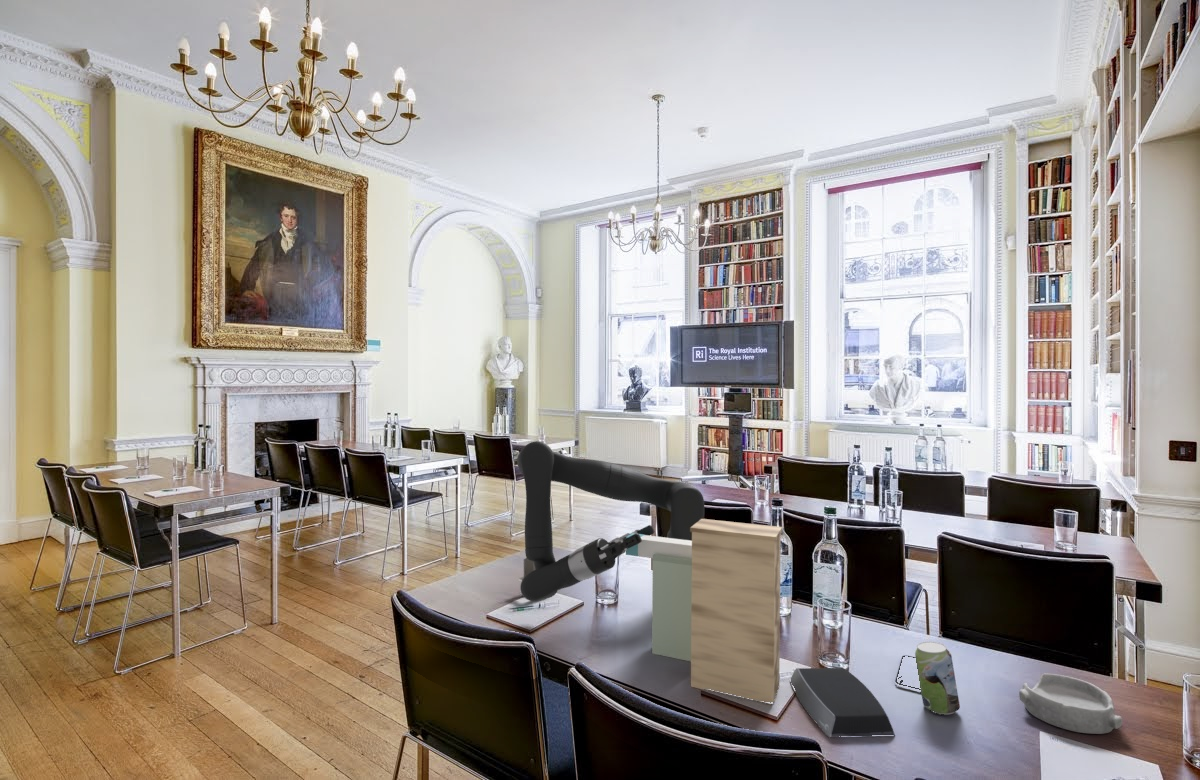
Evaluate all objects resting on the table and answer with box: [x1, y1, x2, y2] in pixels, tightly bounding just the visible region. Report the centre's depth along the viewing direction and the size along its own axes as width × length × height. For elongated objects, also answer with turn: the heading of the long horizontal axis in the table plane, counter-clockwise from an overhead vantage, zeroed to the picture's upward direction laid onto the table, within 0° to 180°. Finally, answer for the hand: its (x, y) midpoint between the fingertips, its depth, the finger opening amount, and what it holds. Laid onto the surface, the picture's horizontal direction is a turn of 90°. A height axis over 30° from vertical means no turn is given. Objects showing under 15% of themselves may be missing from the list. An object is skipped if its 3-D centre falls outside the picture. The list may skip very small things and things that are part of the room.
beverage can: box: [914, 641, 961, 716], centre depth 111 cm, size 6×7×12 cm
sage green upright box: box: [651, 554, 692, 662], centre depth 134 cm, size 7×12×22 cm, turn 65°
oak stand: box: [690, 518, 783, 703], centre depth 119 cm, size 9×17×32 cm, turn 65°
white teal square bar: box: [625, 532, 692, 559], centre depth 135 cm, size 4×24×4 cm, turn 65°
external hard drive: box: [790, 667, 896, 738], centre depth 112 cm, size 13×19×4 cm
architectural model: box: [518, 557, 535, 583], centre depth 170 cm, size 19×17×11 cm
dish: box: [1018, 672, 1123, 735], centre depth 109 cm, size 14×14×5 cm
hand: (646, 532), depth 138 cm, fingers open, 8 cm apart
